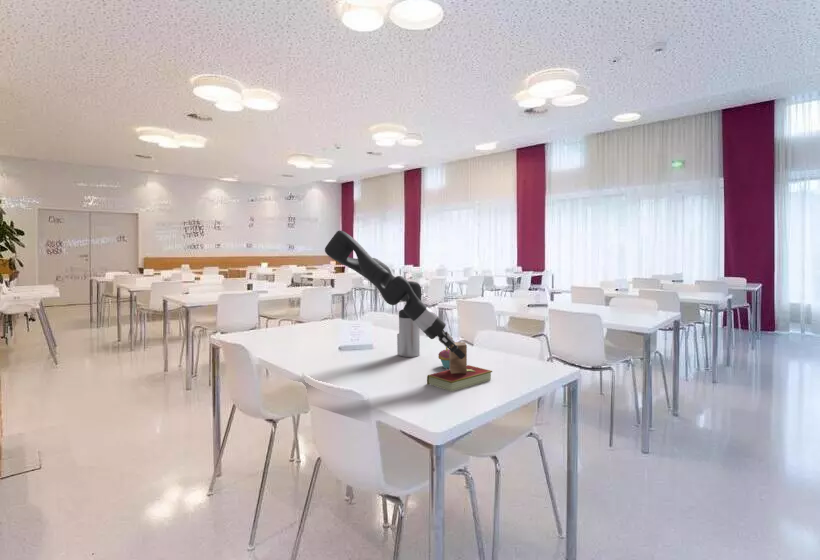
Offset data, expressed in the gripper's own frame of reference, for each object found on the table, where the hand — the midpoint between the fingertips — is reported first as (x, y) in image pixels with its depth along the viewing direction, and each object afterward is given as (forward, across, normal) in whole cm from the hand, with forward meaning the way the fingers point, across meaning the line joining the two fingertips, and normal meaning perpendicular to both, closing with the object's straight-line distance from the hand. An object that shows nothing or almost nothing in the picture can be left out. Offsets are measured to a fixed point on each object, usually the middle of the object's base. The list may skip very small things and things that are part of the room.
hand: (461, 354), depth 162 cm
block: (+3, 0, -5) cm, 6 cm away
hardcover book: (+7, +1, -8) cm, 11 cm away
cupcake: (+5, -20, -9) cm, 23 cm away
